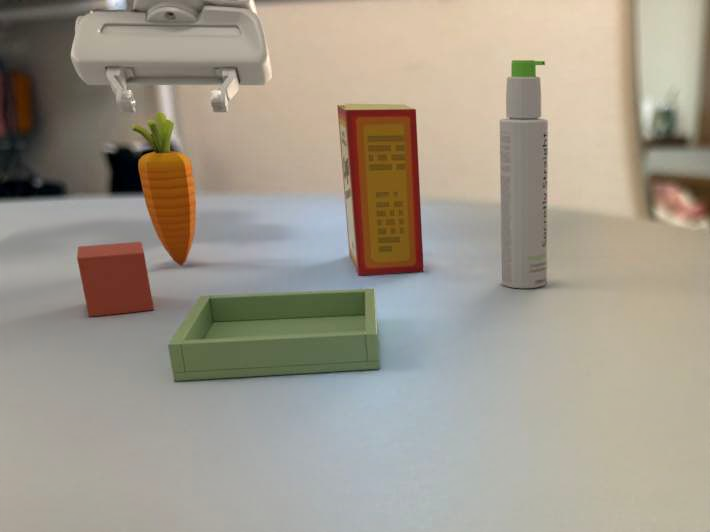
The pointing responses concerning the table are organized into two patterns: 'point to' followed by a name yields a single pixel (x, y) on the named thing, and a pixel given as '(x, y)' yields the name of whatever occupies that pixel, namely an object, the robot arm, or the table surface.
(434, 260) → the table surface
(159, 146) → the carrot
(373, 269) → the baking soda box
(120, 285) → the terracotta block
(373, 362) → the green tray
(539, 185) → the bottle
